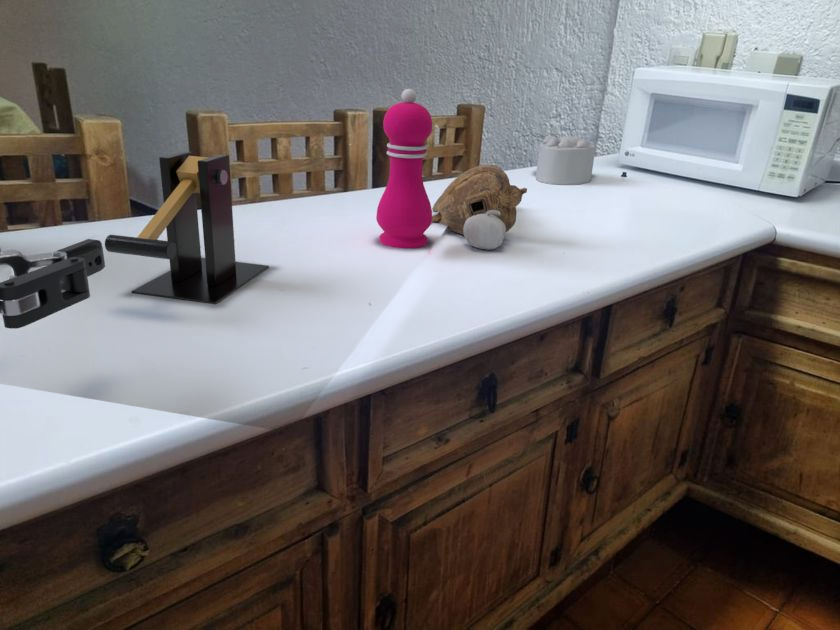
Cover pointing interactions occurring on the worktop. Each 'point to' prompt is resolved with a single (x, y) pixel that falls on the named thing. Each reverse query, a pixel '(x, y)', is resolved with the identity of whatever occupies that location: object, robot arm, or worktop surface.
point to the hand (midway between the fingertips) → (45, 246)
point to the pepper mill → (405, 176)
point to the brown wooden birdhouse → (478, 198)
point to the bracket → (187, 268)
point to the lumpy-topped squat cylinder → (565, 161)
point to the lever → (160, 219)
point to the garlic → (484, 230)
